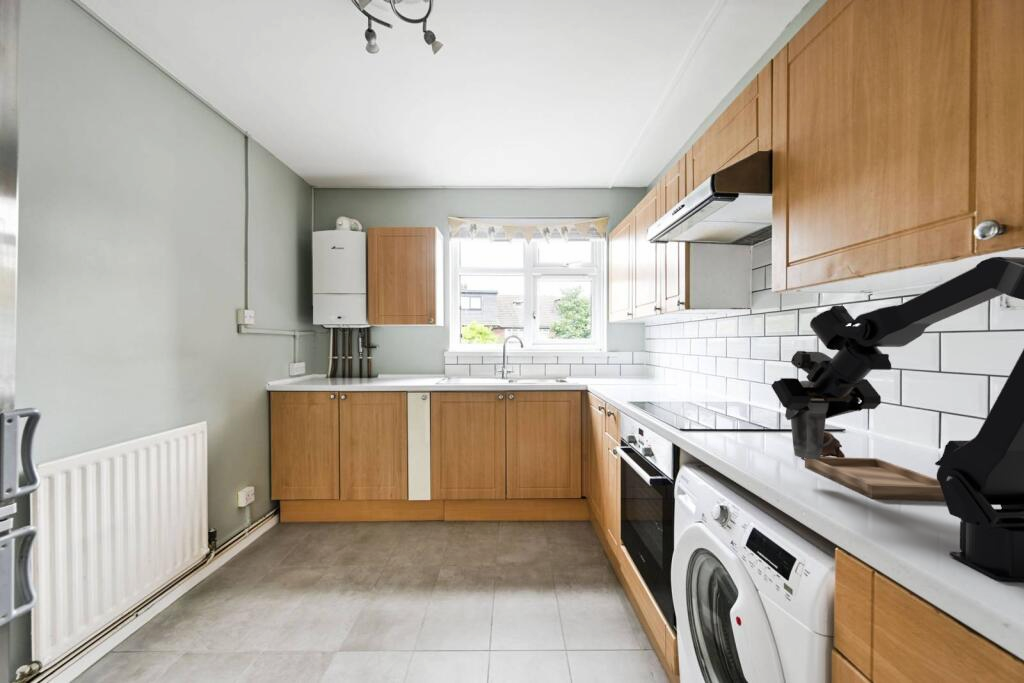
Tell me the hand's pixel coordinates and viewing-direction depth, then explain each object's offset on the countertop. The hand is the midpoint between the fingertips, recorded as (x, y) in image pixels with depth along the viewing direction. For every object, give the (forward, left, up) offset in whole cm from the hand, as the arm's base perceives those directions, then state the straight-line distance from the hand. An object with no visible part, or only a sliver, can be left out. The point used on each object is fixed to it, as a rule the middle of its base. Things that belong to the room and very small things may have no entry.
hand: (802, 418), depth 90 cm
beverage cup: (-1, 0, -8) cm, 8 cm away
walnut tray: (+1, -15, -13) cm, 20 cm away
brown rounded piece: (+19, -16, -14) cm, 28 cm away
